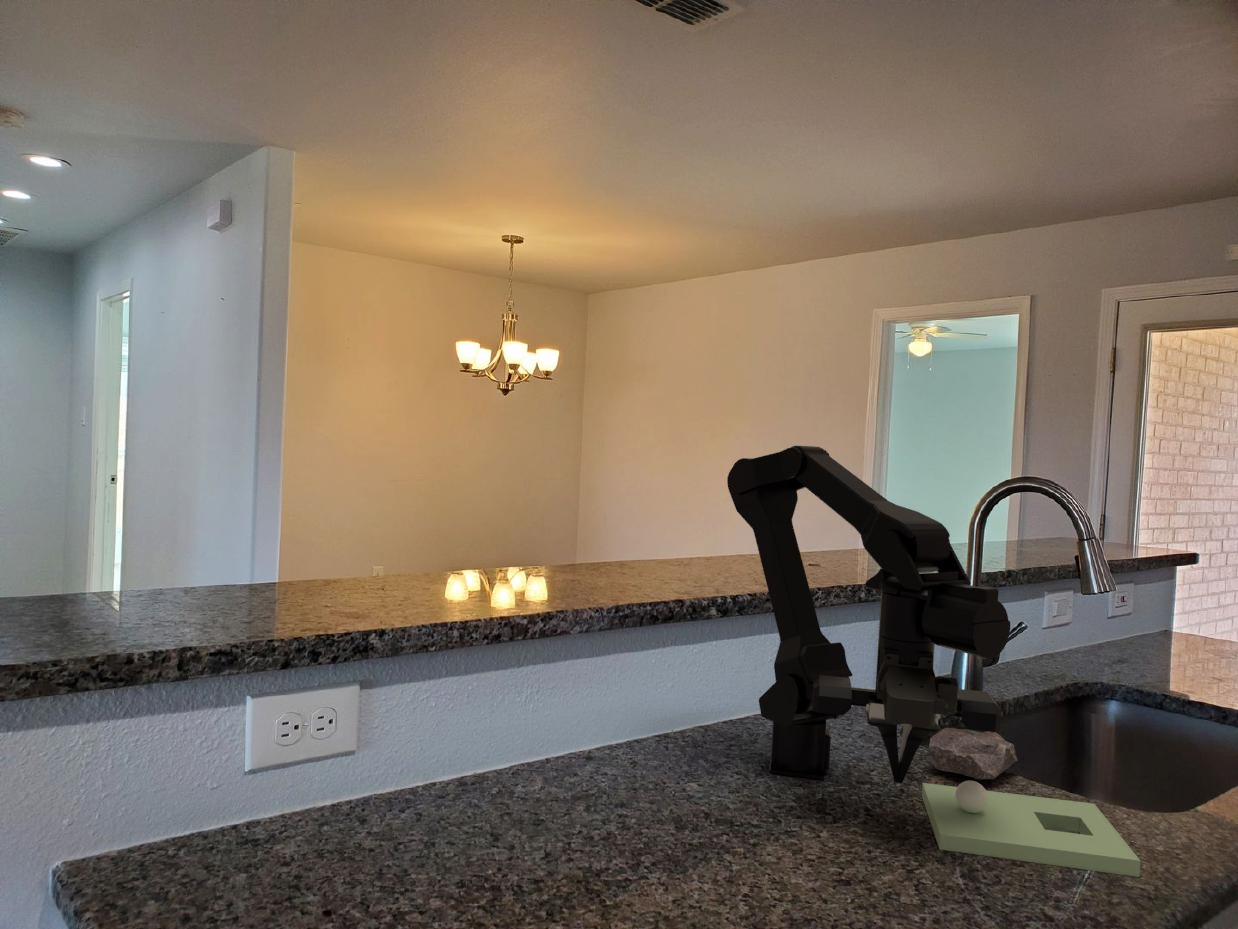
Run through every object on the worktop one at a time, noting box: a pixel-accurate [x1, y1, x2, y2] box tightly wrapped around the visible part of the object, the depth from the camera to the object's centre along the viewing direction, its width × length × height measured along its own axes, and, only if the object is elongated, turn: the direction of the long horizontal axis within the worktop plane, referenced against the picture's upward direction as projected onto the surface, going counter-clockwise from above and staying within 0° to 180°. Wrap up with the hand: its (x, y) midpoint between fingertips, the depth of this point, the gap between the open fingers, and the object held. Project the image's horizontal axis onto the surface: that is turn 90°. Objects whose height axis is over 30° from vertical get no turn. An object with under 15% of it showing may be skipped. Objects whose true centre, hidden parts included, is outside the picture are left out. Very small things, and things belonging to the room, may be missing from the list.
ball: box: [955, 780, 988, 813], centre depth 95 cm, size 3×3×3 cm
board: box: [921, 782, 1141, 878], centre depth 94 cm, size 18×14×2 cm
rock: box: [928, 727, 1019, 780], centre depth 111 cm, size 8×11×5 cm
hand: (897, 782), depth 96 cm, fingers closed
